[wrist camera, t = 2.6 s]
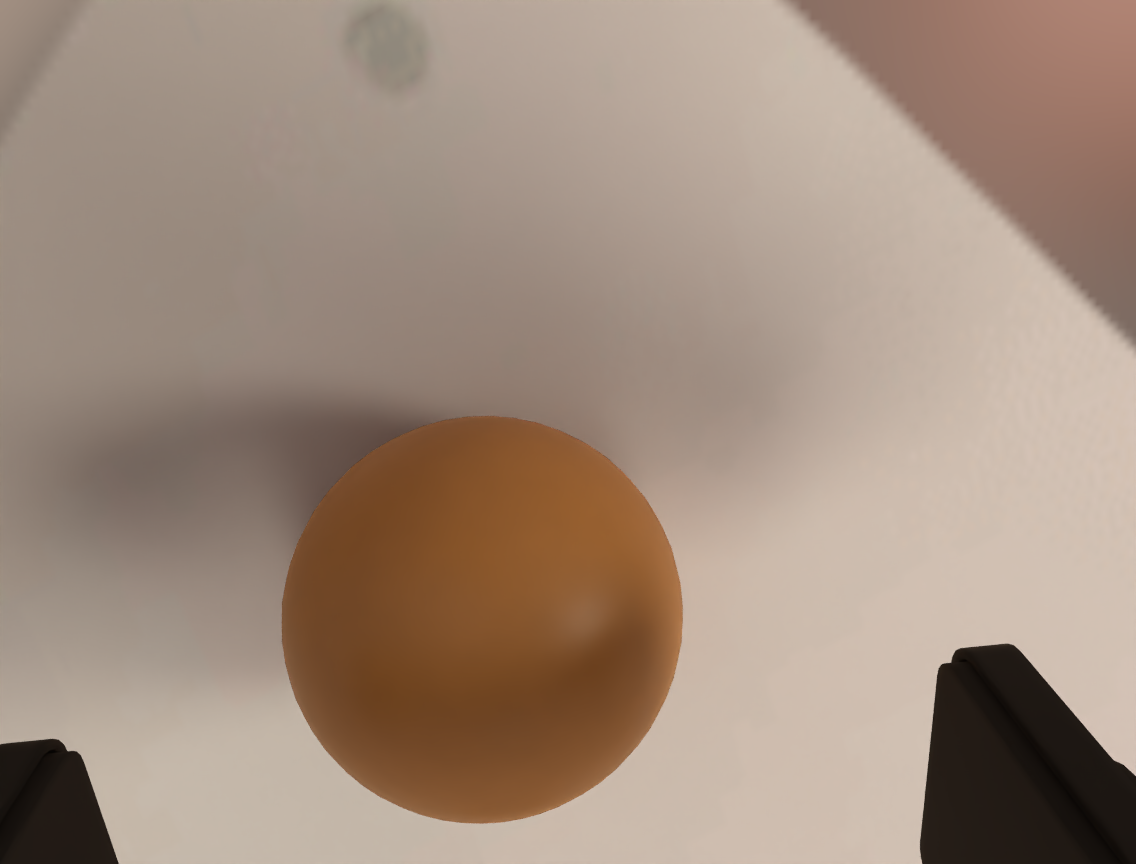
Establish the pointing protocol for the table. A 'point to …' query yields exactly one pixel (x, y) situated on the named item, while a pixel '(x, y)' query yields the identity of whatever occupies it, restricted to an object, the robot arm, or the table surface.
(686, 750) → the table surface
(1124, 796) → the robot arm
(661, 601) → the orange ball
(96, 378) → the table surface
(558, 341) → the table surface
